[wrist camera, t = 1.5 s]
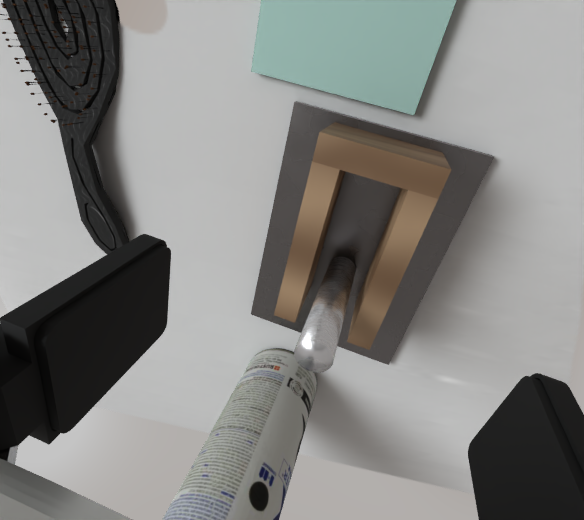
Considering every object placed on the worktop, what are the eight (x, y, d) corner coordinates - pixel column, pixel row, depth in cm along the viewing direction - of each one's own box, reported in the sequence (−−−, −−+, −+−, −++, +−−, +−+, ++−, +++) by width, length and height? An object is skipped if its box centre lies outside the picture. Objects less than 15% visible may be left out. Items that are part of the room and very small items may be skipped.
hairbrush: (60, 263, 31) (-95, -151, 18) (91, 244, 34) (-24, -122, 21) (142, 278, 29) (33, -171, 16) (167, 256, 32) (91, -136, 20)
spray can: (301, 411, 35) (200, 738, 17) (240, 379, 35) (82, 669, 18) (329, 369, 31) (239, 725, 14) (261, 333, 31) (91, 639, 14)
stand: (296, 101, 22) (228, 116, 13) (491, 155, 20) (555, 211, 12) (253, 310, 31) (194, 401, 22) (388, 360, 29) (382, 479, 20)
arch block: (334, 122, 21) (319, 131, 18) (442, 152, 21) (451, 169, 17) (292, 281, 27) (273, 315, 24) (374, 310, 27) (369, 349, 23)
